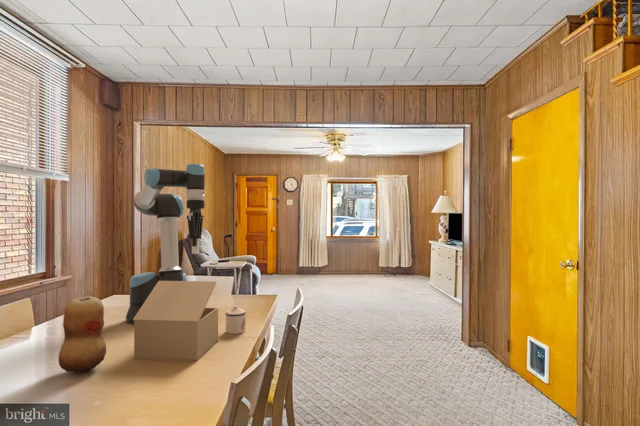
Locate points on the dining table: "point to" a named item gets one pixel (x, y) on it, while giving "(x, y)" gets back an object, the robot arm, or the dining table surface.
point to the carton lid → (176, 301)
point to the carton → (176, 338)
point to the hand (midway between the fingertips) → (195, 253)
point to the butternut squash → (83, 335)
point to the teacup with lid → (235, 320)
